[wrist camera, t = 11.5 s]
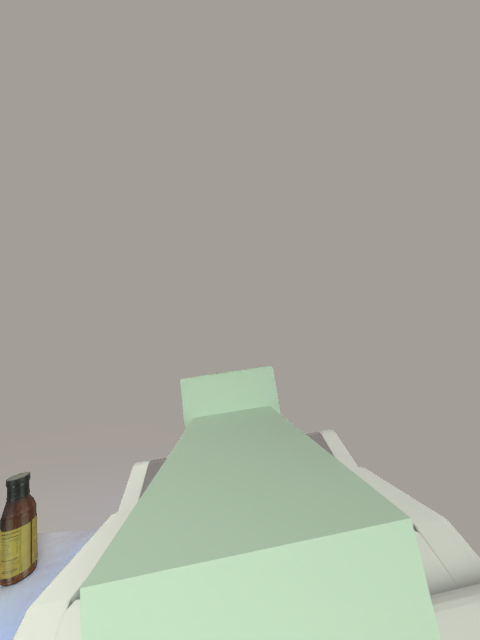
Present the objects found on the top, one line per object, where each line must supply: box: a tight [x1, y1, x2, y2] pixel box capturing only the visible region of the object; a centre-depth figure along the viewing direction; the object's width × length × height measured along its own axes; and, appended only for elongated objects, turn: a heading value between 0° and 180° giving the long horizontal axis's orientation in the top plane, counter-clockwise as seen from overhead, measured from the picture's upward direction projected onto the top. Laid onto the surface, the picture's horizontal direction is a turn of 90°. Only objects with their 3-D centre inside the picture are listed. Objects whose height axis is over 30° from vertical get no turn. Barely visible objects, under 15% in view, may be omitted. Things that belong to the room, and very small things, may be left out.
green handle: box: [80, 366, 441, 640], centre depth 11 cm, size 5×16×5 cm, turn 4°
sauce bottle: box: [0, 472, 38, 586], centre depth 54 cm, size 7×6×20 cm
